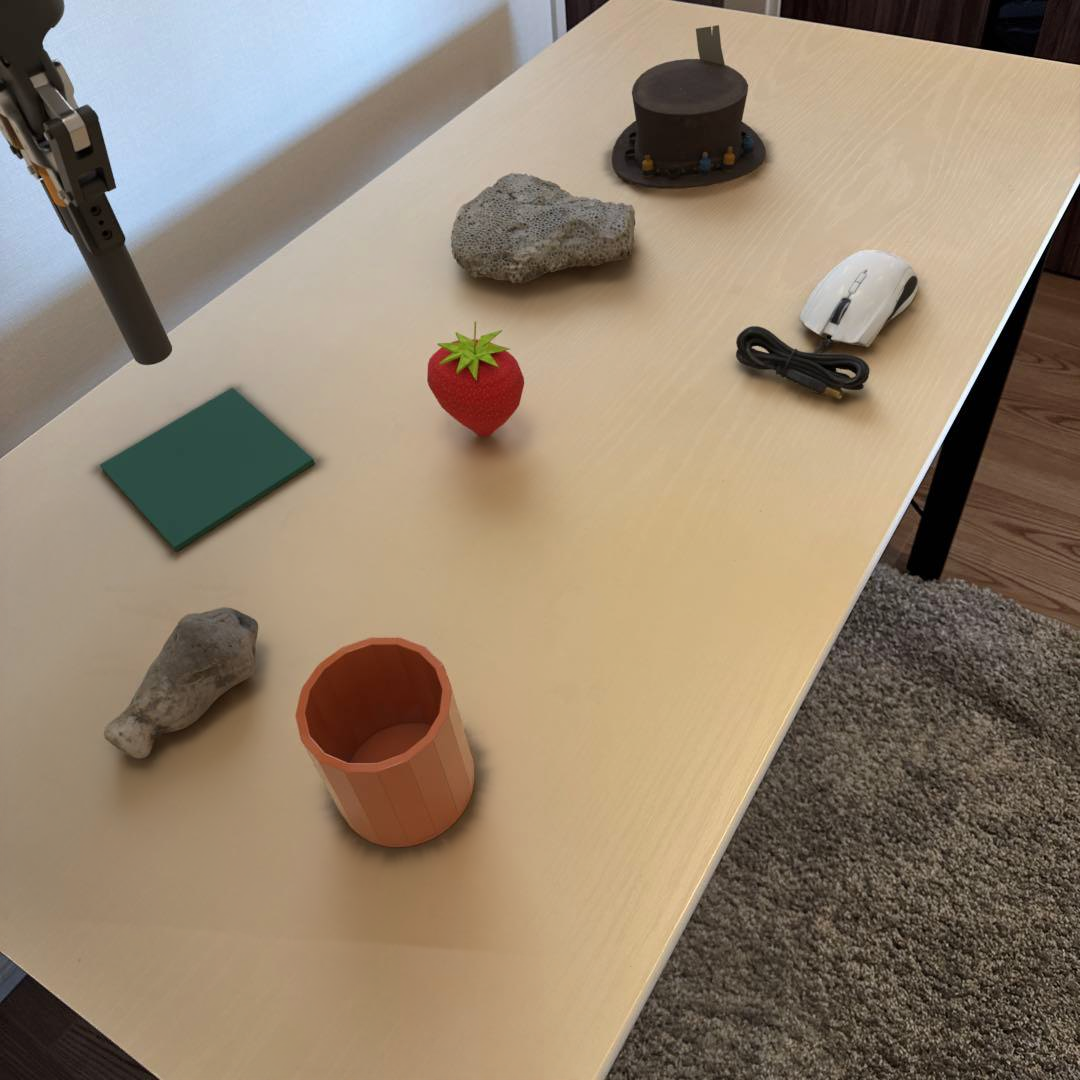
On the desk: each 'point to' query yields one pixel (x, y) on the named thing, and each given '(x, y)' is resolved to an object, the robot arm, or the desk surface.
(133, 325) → the marker
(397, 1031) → the desk surface
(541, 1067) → the desk surface
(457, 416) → the strawberry
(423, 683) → the pen cup
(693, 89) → the top hat
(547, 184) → the rock
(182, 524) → the mat
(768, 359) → the computer mouse
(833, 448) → the desk surface
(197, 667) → the stone
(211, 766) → the desk surface
